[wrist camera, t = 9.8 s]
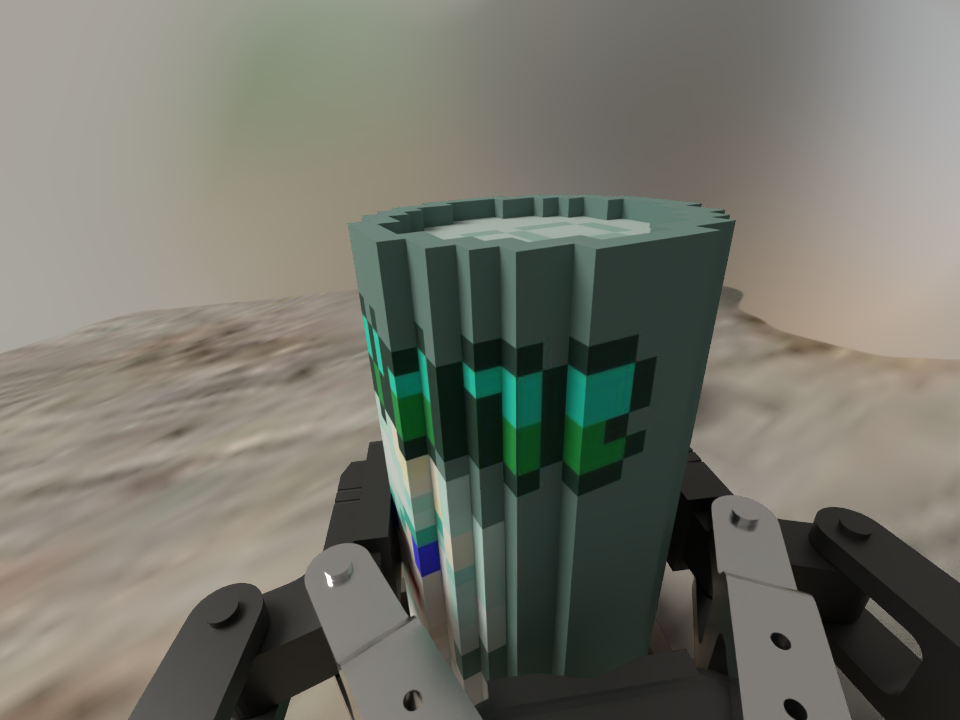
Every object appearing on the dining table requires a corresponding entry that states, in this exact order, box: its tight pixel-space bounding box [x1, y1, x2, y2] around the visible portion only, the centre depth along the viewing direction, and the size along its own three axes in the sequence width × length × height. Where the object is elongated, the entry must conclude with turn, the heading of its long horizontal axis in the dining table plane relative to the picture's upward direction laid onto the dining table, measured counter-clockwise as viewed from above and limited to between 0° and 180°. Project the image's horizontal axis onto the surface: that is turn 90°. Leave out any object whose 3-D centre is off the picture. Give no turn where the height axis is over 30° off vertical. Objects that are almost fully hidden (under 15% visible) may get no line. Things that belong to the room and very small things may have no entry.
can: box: [348, 195, 736, 706], centre depth 11 cm, size 6×6×15 cm
